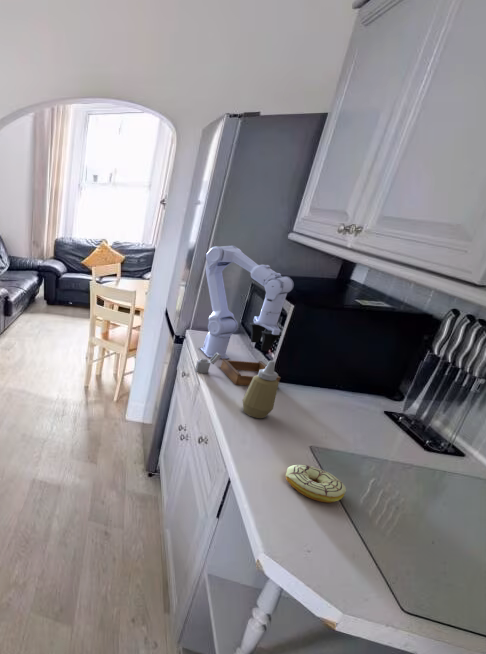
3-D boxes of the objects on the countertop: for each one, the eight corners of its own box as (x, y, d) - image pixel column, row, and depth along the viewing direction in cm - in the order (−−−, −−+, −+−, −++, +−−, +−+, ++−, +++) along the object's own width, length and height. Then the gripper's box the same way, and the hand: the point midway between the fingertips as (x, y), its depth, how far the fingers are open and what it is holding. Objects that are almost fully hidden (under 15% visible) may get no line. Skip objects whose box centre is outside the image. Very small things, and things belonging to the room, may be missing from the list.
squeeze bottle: (260, 407, 125) (278, 356, 118) (275, 421, 118) (295, 368, 111) (234, 405, 126) (250, 354, 119) (247, 419, 119) (265, 366, 111)
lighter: (196, 372, 148) (201, 352, 144) (194, 370, 149) (199, 351, 146) (216, 373, 147) (221, 354, 143) (214, 371, 148) (220, 352, 145)
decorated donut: (298, 468, 99) (303, 456, 97) (350, 496, 90) (356, 483, 89) (274, 480, 94) (279, 468, 93) (326, 512, 86) (333, 498, 84)
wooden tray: (219, 367, 151) (222, 358, 150) (258, 370, 149) (261, 361, 148) (234, 384, 139) (238, 374, 137) (277, 388, 137) (280, 377, 136)
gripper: (249, 304, 146) (239, 338, 152) (269, 316, 133) (257, 353, 139) (269, 305, 145) (258, 339, 151) (291, 318, 132) (278, 354, 138)
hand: (259, 346), depth 145 cm, fingers open, 7 cm apart
